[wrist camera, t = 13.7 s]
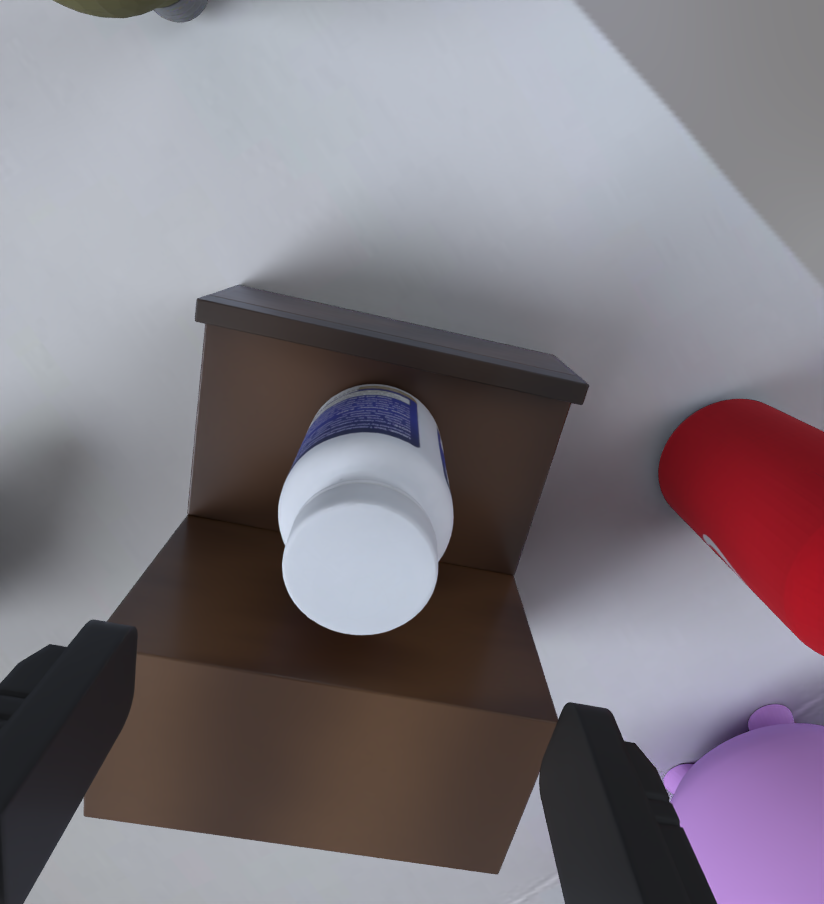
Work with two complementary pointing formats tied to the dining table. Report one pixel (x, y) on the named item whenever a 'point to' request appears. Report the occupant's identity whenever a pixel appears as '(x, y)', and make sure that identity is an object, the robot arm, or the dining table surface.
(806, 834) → the teapot
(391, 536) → the pill bottle
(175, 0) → the light bulb
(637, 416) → the dining table surface
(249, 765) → the rack
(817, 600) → the beverage can
